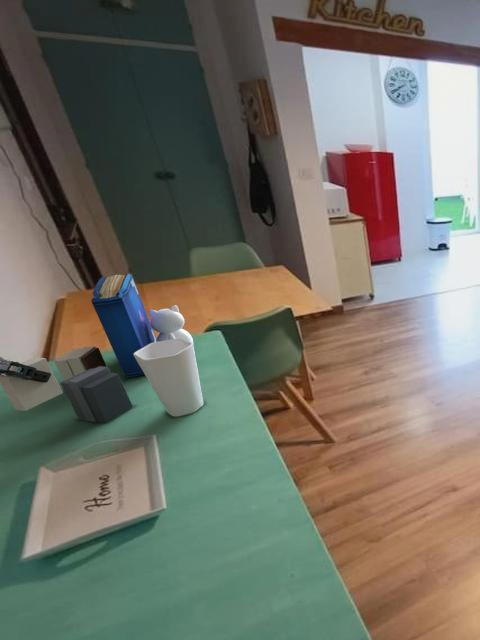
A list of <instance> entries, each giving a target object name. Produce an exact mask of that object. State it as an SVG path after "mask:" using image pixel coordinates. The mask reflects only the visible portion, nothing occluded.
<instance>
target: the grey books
mask: <svg viewBox="0 0 480 640" xmlns="http://www.w3.org/2000/svg"><path fill="white" fill-rule="evenodd" d="M60 385H61V387H62V390H63V391H64V393H65V395H66V397H67V399H68V401H69V402H70V405H71V407H72V408H73V411H74V412H75V414H76V416H77V418H78V420H81V421H87V422H92V423H97V422H98V423H104V424H105V423H109V422H110V421H112V420H114V419H115V418H117V417H119V416H120V415H122V414H124V413H125V412H127V411H129V410H131V409H132V408H133V407H134V406H133V404H132V402H131V400H130V397H129V395H128V393H127V390H126V388H125V385H124V384H123V381H122V379H121V376H120V373H114V372H111V370H110V368H109V367H108V366H107V367H102V366H99V367H97V368H95V369H92V368H91V369H89V370H86V371H84V372H82V373H80V374H78V375H76V376H74V377H71V378H69V379H67V380H65V381H64V380H63V381H61V382H60Z"/></svg>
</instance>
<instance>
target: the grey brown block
mask: <svg viewBox="0 0 480 640" xmlns="http://www.w3.org/2000/svg"><path fill="white" fill-rule="evenodd" d="M54 364H55V366H56V368H57V370H58V373H60V376H61V378H62V380H63V381H65V380H67V379H69V378H71V377H74V376H76V375H78V374H80V373H82V372H84V371H86V370H89V369H91V368H92V369H95V368H97V367H99V366H102V367H108V366H107V364H106V362H105V359H104V357H103V354H102V353H101V350H100V348H99V347H96V346H84V347H82V348H73V349H70V350H69V351H68V352H67V353H65V354H63V355H62V356H60V357H59V358H57V359H56V360H54Z"/></svg>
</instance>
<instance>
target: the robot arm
mask: <svg viewBox="0 0 480 640" xmlns="http://www.w3.org/2000/svg"><path fill="white" fill-rule="evenodd" d="M20 363H21V362H19V361H15V360H11V359H6V358H3V357H2V356H0V377H2V378H9V379H11V378H13V377H16V378H21V379H22V380H24V379H25V380H33V381H37V382H42V383H46V382H48V380H49V378H50V376H51V373H48V372H44V371H40V370H36V369H37V368H34V367H31V366H27V365H24V364H20Z"/></svg>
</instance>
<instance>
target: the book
mask: <svg viewBox="0 0 480 640" xmlns="http://www.w3.org/2000/svg"><path fill="white" fill-rule="evenodd" d="M92 295H93V297H92V298H91V299H90V301H91V304H92V306H93V309H94V311H95V313H96V316H97V317H98V320H99V322H100V324H101V326H102V329H103V331H104V333H105V335H106V338H107V340H108V342H109V344H110V347H111V349H112V351H113V353H114V355H115V358H116V360H117V362H118V364H119V366H120V369H121V371H122V373H123V375H124V377H125V378H134V377H141V376H143V375H144V376H145V374H144V372H143V370H142V369H141V367H140V365H139V364H138V362H137V360H136V359H135V357H134V355H133V354H134V353H135V352H136V351H138V350H140V349H142V348H143V347H145V346H147V345H149V344H150V343H154V342H156V339H157V336H156V333H155V332H154V331H155V330H154V329H153V328H152V326H151V320H150V318H149V316H148V314H147V311H146V307H145V306H144V303H143V300H142V298H141V295H140V293H139V289H138V288H137V284H136V282H135V279H134V277H133V274H132V273H129V272H128V273H126V274H125V275H124V274H114V275H110V276H105V275H102V276H101V277H100V278H99V279H98V281H97V282H96V284H95V286H94V289H93V291H92Z"/></svg>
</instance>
